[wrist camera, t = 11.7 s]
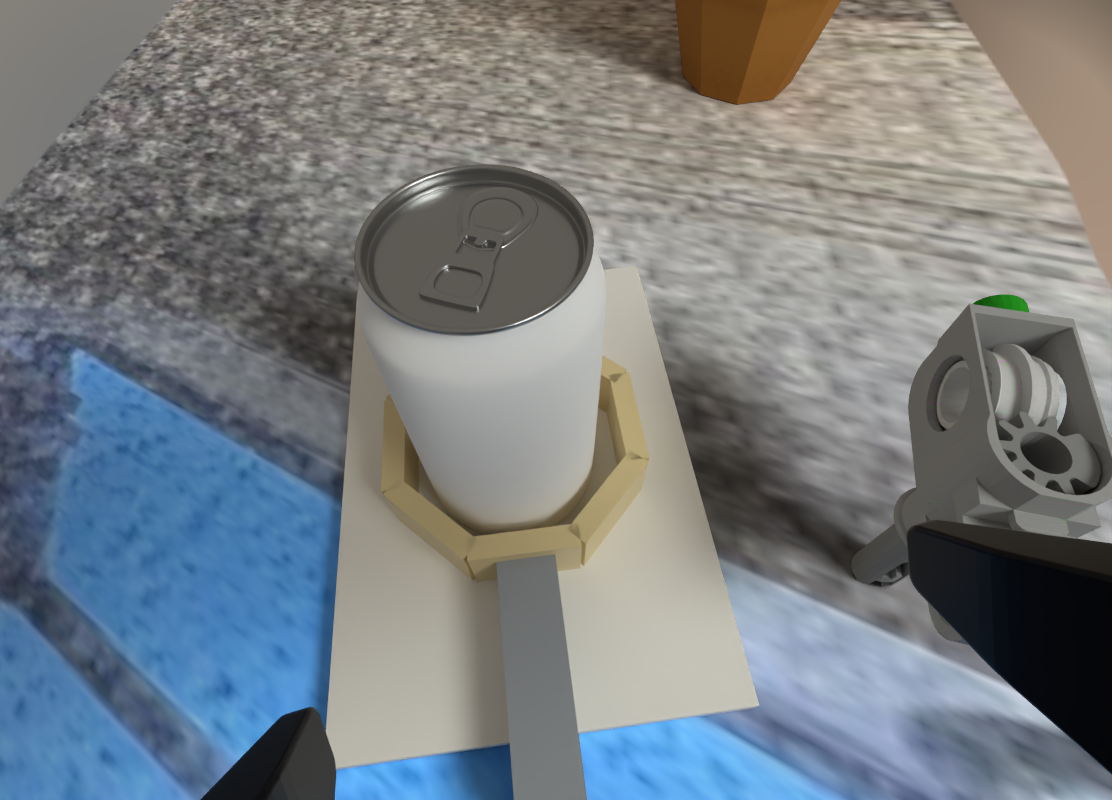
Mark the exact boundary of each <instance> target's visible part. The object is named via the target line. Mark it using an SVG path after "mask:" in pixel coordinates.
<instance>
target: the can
mask: <svg viewBox="0 0 1112 800" xmlns="http://www.w3.org/2000/svg"><path fill="white" fill-rule="evenodd" d="M354 260H355V268H356V273H357V276H358V279H359V285H358V293H357V310H358V316H359V321H360V324H361V328H362V331H363V334H364V336H365V339H366V341H367V344H368V346H369V349H370V351H371V353H372V356H373V358H374V360H375V362H376V365H377V367H378V369H379V371H380V374H381V376H382V378H383V380H384V382H385V385H386V387H387V389H388V391H389V393H390V396H391V398H392V400H393V402H394V404H395V407H396V409H397V411H398V413H399V415H400V417H401V420H402V422H403V424H404V426H405V428H406V430H407V433H408V435H409V437H410V439H411V441H412V443H413V446H414V448H415V450H416V452H417V454H418V456H419V458H420V461H421V463H422V465H423V467H424V469H425V471H426V473H427V475H428V478H429V480H430V482H431V484H432V486H433V488H434V490H435V492H436V494H437V496H438V498H439V499H440V501H441V503H442V504H443V505H444V507H445V508H446V509H447V511H448V512H449V513H450V514H451V515H452V516H453V517H454V518H455V519H457V520H458V521H459V522H461V523H462V524H463V525H465V526H467V527H469V528H470V529H473V530H475V531H477V532H480V533H483V534H486V535H489V534H497V533H505V532H513V531H521V530H529V529H536V528H544V527H551V526H552V525H554V524H556V523H557V522H559V521H560V520H561V519H563V518H564V517H565V516H566V515H567V514H569V513H570V512H571V511H572V509H573V508H574V507H575V506H576V505H577V503H578V502H579V501H580V499H581V498H582V496H583V494H584V492H585V490H586V488H587V485H588V482H589V479H590V475H591V470H592V463H593V454H594V445H595V434H596V424H597V413H598V402H599V390H600V379H601V368H602V356H603V344H604V331H605V318H606V298H607V292H606V279H605V273H604V269H603V266H602V263H601V261H600V258H599V256H598V254H597V252H596V250H595V248H594V239H593V231H592V227H591V223H590V221H589V218H588V216H587V214H586V212H585V211H584V209H583V207H582V206H581V205H580V203H579V202H578V201H577V200H576V199H575V198H574V197H573V196H572V195H571V194H570V193H569V192H568V191H567V190H566V189H564V188H563V187H561V186H560V185H559V184H557V183H555V182H554V181H552V180H550V179H548V178H546V177H544V176H541V175H539V174H536V173H534V172H531V171H527V170H524V169H520V168H515V167H509V166H502V165H467V166H459V167H453V168H448V169H444V170H440V171H436V172H433V173H430V174H427V175H424V176H422V177H419V178H417V179H415V180H413V181H411V182H409V183H407V184H405V185H403V186H402V187H400V188H398V189H397V190H395V191H394V192H392V193H391V194H390V195H388V196H387V197H386V198H385V199H384V200H383V201H381V202H380V203H379V204H378V205H377V206H376V207H375V209H374V210H373V211H372V212H371V213H370V215H369V216H368V217H367V219H366V220H365V222H364V224H363V226H362V228H361V230H360V232H359V235H358V237H357V241H356V245H355V253H354Z"/></svg>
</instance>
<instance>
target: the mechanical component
mask: <svg viewBox="0 0 1112 800" xmlns="http://www.w3.org/2000/svg"><path fill="white" fill-rule="evenodd" d="M1055 372H1056V373H1058V374H1059V375H1060V377H1061V378H1062V379H1063V382H1064V384H1065V387H1066V393H1067V405H1066V410H1065V414H1064V417H1063V420H1062V423H1061V425H1060V426H1059V428H1058V430H1057V419H1056V415H1057V410H1058V406H1059V398H1060V388H1059V382H1058V378H1057V375H1056V373H1055ZM908 410H909V421H910V431H911V441H912V451H913V461H914V470H915V480H916V488H913V489H911V490H908V491H907V492H905V493H904V494H903V495H902V496H901V497H900V498H899V499H898V501H897V502H896V505H895V508H894V523H895V524H893V525H892V526H891V527H890V528H888V529H887V530H886V531H884V532H883V533H882V534H880V535H879V536H878V537H877V538H875V539H874V540H873V541H871V542H870V543H869V544H867V545H866V546H865V547H864V548H862V549H861V550H860V551H858V552H857V553H856V554H855V555H854V556H853V559H852V562H851V567H852V571H853V574H854V576H855V577H856V579H857V580H858V581H859V582H862V583H866V584H870V583H872V582H874V581H879V582H881V587H882V588H884V589H887V588H889V587H891V586H892V585H894V584H896V583H897V582H899V581H901V580H903V579H904V578H906V577H908V576H909V567H908V553H907V539H906V534H907V531H908V529H909V528H910V527H911V526H913V525H916V524H920V523H923V522H926V521H930V520H943V521H951V522H958V523H965V524H973V525H980V526H987V527H994V528H1002V529H1009V530H1016V531H1024V532H1031V533H1038V534H1046V535H1053V536H1060V537H1068V538H1075V539H1078V537H1080V536H1082V535H1084V534H1086V533H1088V532H1090V531H1093V530H1095V529H1097V528H1099V527H1101V526H1100V522H1099V518H1098V515H1097V511H1096V508H1095V506H1097V505H1099V504H1101V503H1103V502H1105V501H1107V500H1109V499H1111V498H1112V438H1111V437H1110V435H1109V434H1108V430H1107V427H1106V424H1105V421H1104V417H1103V414H1102V411H1101V407H1100V404H1099V401H1098V398H1097V394H1096V391H1095V388H1094V385H1093V381H1092V378H1091V375H1090V372H1089V368H1088V365H1087V362H1086V358H1085V355H1084V352H1083V349H1082V345H1081V342H1080V339H1079V336H1078V332H1077V329H1076V326H1075V322H1074V319H1069V318H1062V317H1055V316H1049V315H1042V314H1035V313H1029V309H1028V305H1027V303H1026V302H1025V301H1024V299H1022V298H1020V297H1017V296H1013V295H995V296H989V297H986V298H983V299H981V300H978V301H976V302H975V303H973V304H969V305H968V306H967V307H966V308H965V309H964V311H963V312H962V313H961V314H960V315H959V317H958V318H957V319H956V320H955V321H954V322H953V324H952V325H951V326H950V327H949V328H948V329H947V331H946V332H945V333H944V334H943V335H942V337H941V338H940V339H939V340H938V344H937V347H936V348H935V349H934V350H933V351H932V352H931V354H930V355H929V356H928V357H927V358H926V360H925V361H924V362H923V363H922V364H921V366H920V368H919V369H918V371H917V373H916V375H915V377H914V380H913V383H912V386H911V390H910V395H909V405H908ZM928 606H929V612H930V615H931V619H932V621H933V624H934V626H935V628H936V629H937V631H938V632H939V633H940V634H941V635H942V637H944V638H945V639H947V640H950V641H954V642H959V643H963V644H968V643H967V642H966V641H965V640H964V639H963V638H962V637H961V636H960V635H959V634H958V633H957V632H956V631H955V630H954V629H953V628H952V627H951V626H950V624H949V623H948V622H947V621H946V620H945V619H944V618H943V617H942V616H941V615H940V614H939V613H938V612H937V611H936V610H935V609H934V608H933V607H932V606H931V605H930V604H929V603H928ZM968 645H969V644H968Z"/></svg>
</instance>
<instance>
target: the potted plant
mask: <svg viewBox="0 0 1112 800" xmlns="http://www.w3.org/2000/svg"><path fill="white" fill-rule="evenodd" d="M675 2H676V12H677V22H678V32H679V42H680V52H681V63H682V73H683V76H684V77H685V79H686V80H687V81H688V82H689V83H690V84H691V85H692V86H693V87H694V88H695V89H696V90H697V91H698V92H699V94H700V95H704V96H708V97H711V98H715V99H718V100H722V101H726V102H729V103H733V104H744V103H751V102H759V101H766V100H773V99H774V98H775V97H776V96H777V95H778V94H779V93H780V92H781V91H782V90H783V89H784V88H785V87H786V86H788V85H789V84H790V83H791V81H792V79H793V78H794V76H795V74H796V73H797V71H798V70H799V68H800V66H801V65H802V63H803V62H804V60H805V58H806V57H807V55H808V54H809V52H810V50H811V49H812V47H813V45H814V44H815V42H816V41H817V39H818V37H819V36H820V34H821V33H822V31H823V29H824V28H825V26H826V24H827V23H828V21H829V20H830V18H831V16H832V15H833V13H834V12H835V10H836V8H837V7H838V5H839V3H840V2H841V0H675Z"/></svg>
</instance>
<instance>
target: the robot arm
mask: <svg viewBox="0 0 1112 800" xmlns="http://www.w3.org/2000/svg"><path fill="white" fill-rule="evenodd" d="M906 539H907V553H908V567H909V576H910V579H911V581H912V583H913V585H914V587H915V588H916V590H917V591H918V592H919V593H920V594H921V595H922V596H923V597H924V598H925V599H926V601H927V602H928V603H929V604H930V605H931V606H932V607H933V608H934V609H935V610H936V611H937V612H938V613H939V614H940V615H941V616H942V617H943V618H944V619H945V620H946V621H947V622H948V623H949V624H950V626H951V627H952V628H953V629H954V630H955V631H956V632H957V633H958V634H959V635H960V636H961V637H962V638H963V639H964V640H965V641H966V642H967V643H968V644H969V645H970V646H971V647H972V648H973V649H974V650H975V652H976V653H977V654H978V655H979V656H980V657H981V658H982V659H983V660H984V661H985V662H986V663H987V664H988V665H989V666H990V667H991V668H992V669H993V670H994V671H995V672H997V673H998V674H999V675H1000V676H1001V677H1002V678H1003V679H1004V680H1005V681H1006V682H1007V683H1009V684H1010V685H1011V686H1012V687H1013V688H1014V689H1015V690H1016V691H1018V692H1019V693H1020V694H1021V695H1022V696H1023V697H1024V698H1026V699H1027V700H1028V701H1029V702H1030V703H1031V704H1032V705H1033V706H1035V707H1036V708H1037V709H1038V710H1039V711H1040V712H1041V713H1043V714H1044V715H1045V716H1046V717H1047V718H1048V719H1049V720H1050V721H1052V722H1053V723H1054V724H1055V725H1056V726H1057V727H1058V728H1060V729H1061V730H1062V731H1063V732H1064V733H1065V734H1066V735H1068V736H1069V737H1070V738H1071V739H1072V740H1073V741H1074V742H1075V743H1077V744H1078V745H1079V746H1080V747H1081V748H1082V749H1083V750H1085V751H1086V752H1087V753H1088V754H1089V755H1090V756H1091V757H1093V758H1094V759H1095V760H1096V761H1097V762H1098V763H1099V764H1100V765H1102V766H1103V767H1104V768H1105V769H1106V770H1107V771H1108V772H1110V773H1111V774H1112V544H1111V543H1104V542H1097V541H1090V540H1082V539H1075V538H1068V537H1060V536H1053V535H1046V534H1038V533H1031V532H1024V531H1016V530H1009V529H1002V528H994V527H987V526H980V525H973V524H965V523H958V522H951V521H943V520H930V521H926V522H923V523H920V524H916V525H913V526H911V527H910V528H909V529H908V531H907V534H906ZM335 784H336V764H335V758H334V754H333V751H332V749H331V746H330V743H329V740H328V737H327V735H326V732H325V729H324V726H323V723H322V721H321V718H320V715H319V713H318V712H317V710H316V709H314V708H312V707H308V708H305V709H301V710H298V711H295V712H291V713H288V714H285V715H283V716H281V717H280V718H279V719H278V720H277V721H276V722H275V723H274V724H273V725H272V726H271V727H270V728H269V729H268V730H267V731H266V732H265V734H264V735H263V736H262V737H261V738H260V739H259V740H258V741H257V742H256V743H255V744H254V745H253V746H252V747H251V748H250V749H249V750H248V751H247V752H246V753H245V754H244V755H243V756H242V757H241V758H240V759H239V760H238V761H237V762H236V763H235V764H234V766H233V767H232V768H231V769H230V770H229V771H228V772H227V773H226V774H225V775H224V776H223V777H222V778H221V779H220V780H219V781H218V782H217V783H216V784H215V785H214V786H213V787H212V788H211V789H210V790H209V791H208V792H207V793H206V794H205V795H204V796H203V798H202V799H201V800H334V799H335Z"/></svg>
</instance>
